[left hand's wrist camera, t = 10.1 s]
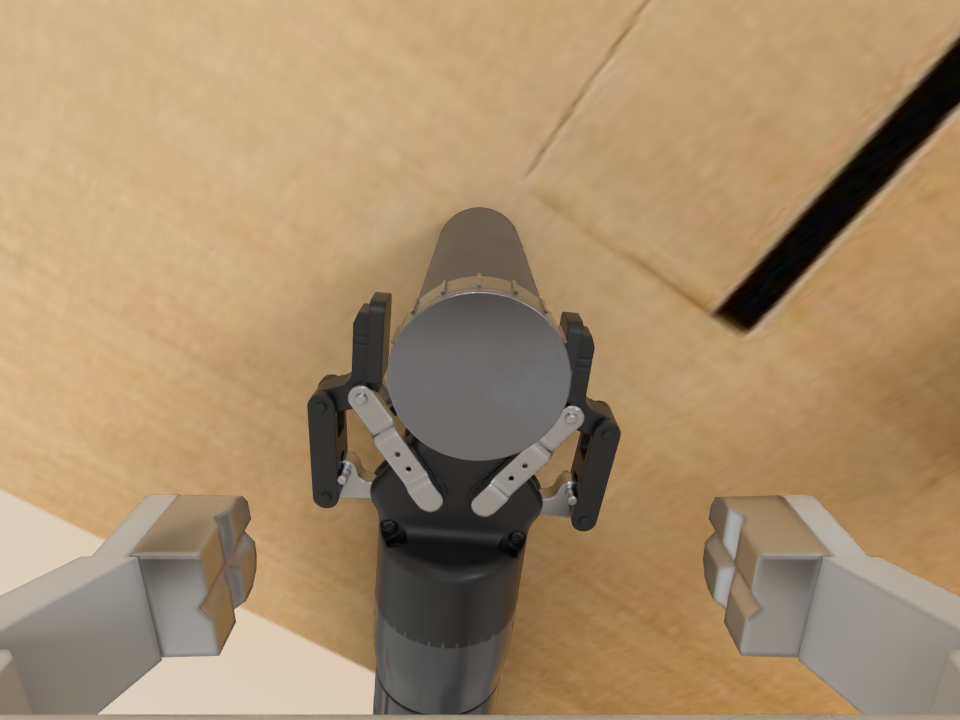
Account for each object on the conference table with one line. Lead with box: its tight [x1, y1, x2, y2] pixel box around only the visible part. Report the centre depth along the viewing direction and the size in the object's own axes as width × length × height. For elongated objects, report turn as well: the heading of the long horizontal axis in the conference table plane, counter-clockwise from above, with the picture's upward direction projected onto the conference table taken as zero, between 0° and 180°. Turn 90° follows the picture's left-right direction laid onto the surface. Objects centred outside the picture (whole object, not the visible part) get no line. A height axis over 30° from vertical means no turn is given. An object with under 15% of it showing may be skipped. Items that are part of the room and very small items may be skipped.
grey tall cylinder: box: [418, 208, 540, 300], centre depth 25 cm, size 4×4×18 cm
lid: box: [387, 273, 572, 461], centre depth 17 cm, size 5×5×2 cm
